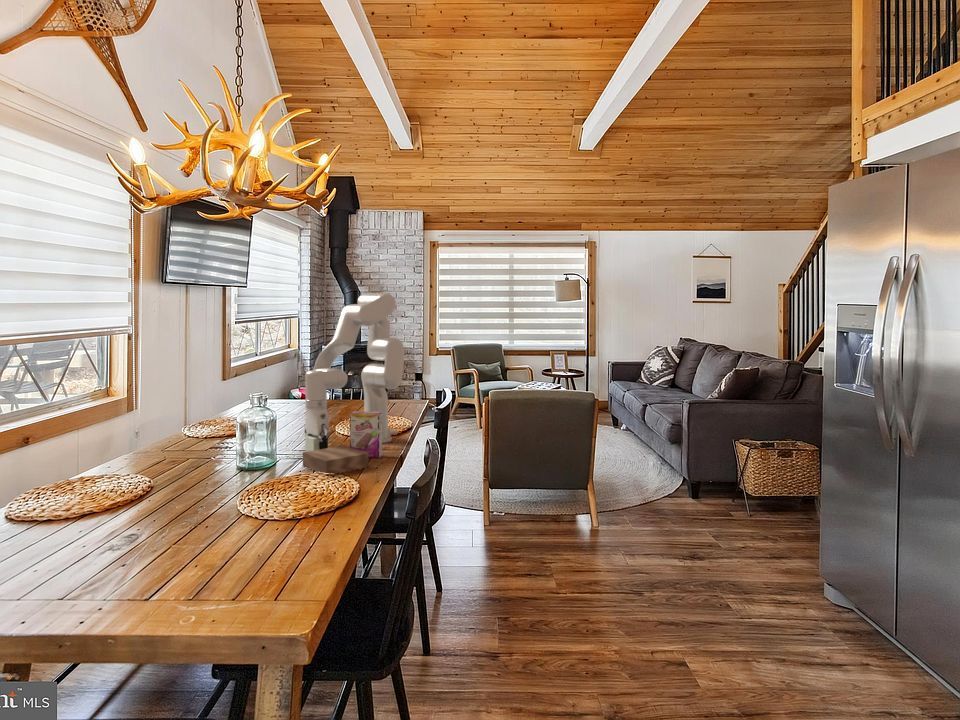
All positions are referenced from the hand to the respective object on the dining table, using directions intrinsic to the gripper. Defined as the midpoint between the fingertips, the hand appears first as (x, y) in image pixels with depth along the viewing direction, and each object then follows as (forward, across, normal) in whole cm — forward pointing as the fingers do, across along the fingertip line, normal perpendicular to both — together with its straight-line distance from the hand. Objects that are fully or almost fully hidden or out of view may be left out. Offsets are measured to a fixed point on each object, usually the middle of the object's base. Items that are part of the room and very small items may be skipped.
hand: (316, 449), depth 233 cm
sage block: (+2, 0, 0) cm, 2 cm away
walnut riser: (+2, -20, +4) cm, 20 cm away
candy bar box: (+2, -14, -12) cm, 19 cm away
